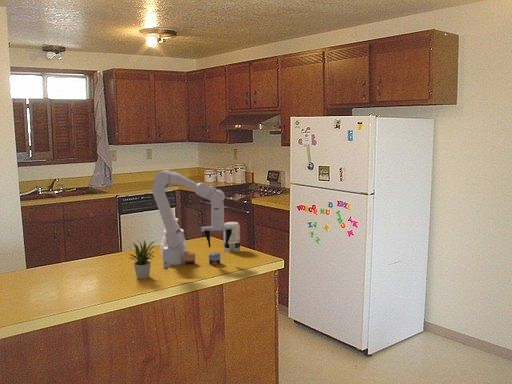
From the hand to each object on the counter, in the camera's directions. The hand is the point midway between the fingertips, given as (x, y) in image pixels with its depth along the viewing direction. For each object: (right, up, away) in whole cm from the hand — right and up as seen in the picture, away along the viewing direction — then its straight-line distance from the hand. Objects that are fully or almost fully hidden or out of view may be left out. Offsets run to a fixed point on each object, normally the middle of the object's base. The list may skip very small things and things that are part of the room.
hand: (218, 246), depth 222 cm
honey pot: (-24, -6, +24) cm, 34 cm away
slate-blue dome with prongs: (-2, -9, +1) cm, 10 cm away
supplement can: (+5, -6, +25) cm, 26 cm away
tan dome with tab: (-13, -9, +1) cm, 16 cm away
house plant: (-30, -12, -12) cm, 34 cm away
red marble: (-2, -8, +1) cm, 8 cm away
